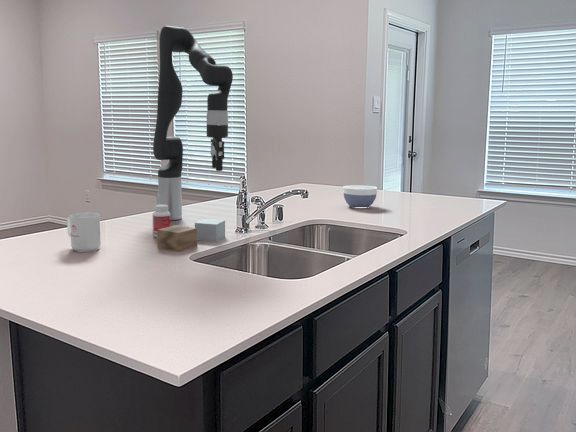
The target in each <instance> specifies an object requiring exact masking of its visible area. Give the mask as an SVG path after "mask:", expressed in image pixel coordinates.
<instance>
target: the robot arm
mask: <svg viewBox="0 0 576 432" xmlns="http://www.w3.org/2000/svg"><path fill="white" fill-rule="evenodd" d="M158 44H159V75H158V76H159V78H158V89H157V90H158V92H157V112H156V124H155V131H154V137H153V144H152V151H153V156H154V158H155V159H156V160H159V161H168V160H169V161H168V162H167V164H166V165H165V166H164V167H161V168H159V169H158V171H157V184H158V187H157V188H158V190H157V191H158V194H156V205H168V211H169V212H170V218H171V221H175V220H176V221H177V220H182V218H183V211H182V210H183V203H182V201H183V199H182V198H183V195H182V193H183V192H182V171H183V160H184V159H183V158H184V155H183V154H184V147H183V141H182V140H181V138H180V137H179V136H168V131H169V127H170V125H171V122H172V121H173V120H174V118H175V116H176V115H177V114H178V112H179V110H180V109H181V107H182V103H183V102H182V101H183V86H182V82H181V80H180V78H179V76H178V74H177V72H176V70H175V67H174V63H173V53H185V54H187V55H188V61H189V63H190V66H192V67H193V68H194V69H195V70H196V71H197V72H198V74H199V76H200V77H201V80H202V81H203V83H204V84H205V85H207V86H212V87H213V86H214V87H218V88H217V90H216V91H215V92H211V93H208V95H207V100H206V101H207V103H206V104H207V107H206V108H207V111H206V137H208V138H210V156H211V168H212V169H215V170H216V171H217V172H222V171H223V166H224V165H223V160H224V159H225V142H224V141H223V138H224V139H225V138H227V137H228V136H229V114H228V113H229V112H228V103H229V102H228V99H229V95H230V90H231V87H232V83H233V78H234V77H233V76H234V75H233V71H232V69H231V68H230V67H229V66H228V65H222V64H217V62H216V60H215V59H214V58H213V57H212V56H211V55H210V54H209V53H208V52H206V51H205V50H204V48H202V46H201V45H200V44H199V43H198V41H197V40H196V38H195V37H194V35H193V34H192V32H191V31H190V30H189V29H187V28H185V27H180V26H172V25H164V26H162V28H161V29H160V34H159V42H158Z"/></svg>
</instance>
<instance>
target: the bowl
mask: <svg viewBox="0 0 576 432" xmlns="http://www.w3.org/2000/svg"><path fill="white" fill-rule="evenodd" d="M342 191H343V198H344V200H345V202H346V204H347V205H348V206H349V207H350V206H351V207H369V208H370V207H371V205H372V204H374V201H376V198H377V194H378V187H377V186H374V185H366V184H365V185H364V184H348V185H347V184H346V185H343V186H342ZM351 207H350V208H351Z"/></svg>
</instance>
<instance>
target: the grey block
mask: <svg viewBox="0 0 576 432" xmlns="http://www.w3.org/2000/svg"><path fill="white" fill-rule="evenodd" d="M194 228H197V241H203V242H216V243H217V242H219V241H221V240H222V239H224V238H226V220H225V219H213V218H212V219H211V218H203V219H200V220H198V221H196V222H194Z"/></svg>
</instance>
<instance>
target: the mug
mask: <svg viewBox="0 0 576 432" xmlns="http://www.w3.org/2000/svg"><path fill="white" fill-rule="evenodd" d="M100 220H101V217H100V213H97V212H76V213H72V214H70V215H69V217H66V227H67V234H68V236H69V237H70V247H71V249H72V250H74V251H75V252H76V253H77V252H78V253H89V252H90V253H91V252H95V251H98V249H99V248H101V244H102V243H101V241H102V240H101V221H100Z"/></svg>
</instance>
